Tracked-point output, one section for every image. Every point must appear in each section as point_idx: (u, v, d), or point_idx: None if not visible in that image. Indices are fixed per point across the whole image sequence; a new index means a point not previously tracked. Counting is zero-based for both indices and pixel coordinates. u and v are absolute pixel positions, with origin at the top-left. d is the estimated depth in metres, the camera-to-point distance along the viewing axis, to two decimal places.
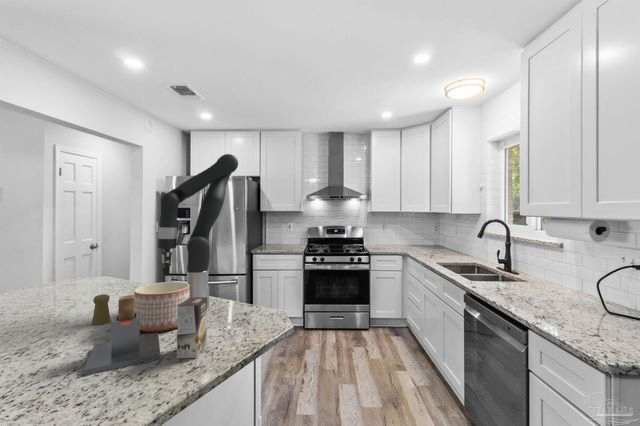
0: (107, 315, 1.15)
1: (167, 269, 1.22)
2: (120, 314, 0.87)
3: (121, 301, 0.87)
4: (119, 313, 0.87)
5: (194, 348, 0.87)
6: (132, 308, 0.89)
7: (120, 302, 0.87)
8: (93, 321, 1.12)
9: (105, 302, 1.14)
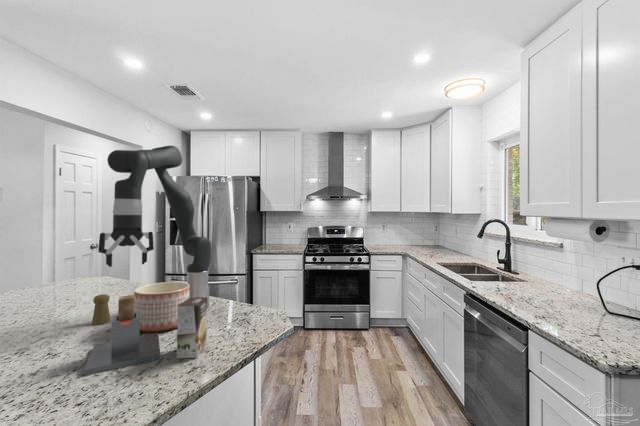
0: (107, 315, 1.15)
1: (146, 255, 0.93)
2: (120, 314, 0.87)
3: (121, 301, 0.87)
4: (119, 313, 0.87)
5: (194, 348, 0.87)
6: (132, 308, 0.89)
7: (120, 302, 0.87)
8: (93, 321, 1.12)
9: (105, 302, 1.14)
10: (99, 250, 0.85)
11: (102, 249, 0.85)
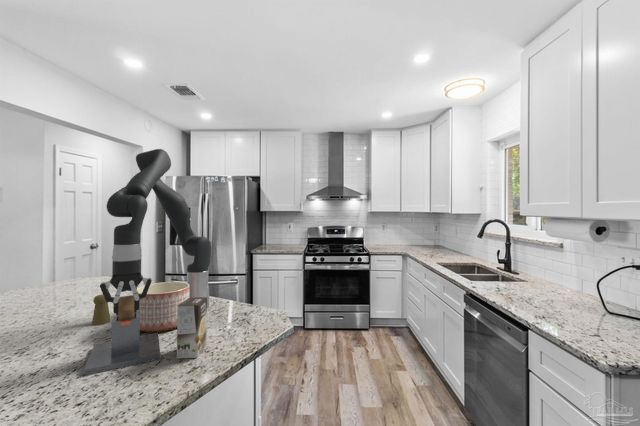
0: (107, 315, 1.15)
1: (138, 302, 0.91)
2: (120, 314, 0.87)
3: (121, 302, 0.87)
4: (119, 313, 0.87)
5: (194, 348, 0.87)
6: (132, 308, 0.89)
7: (120, 302, 0.87)
8: (93, 321, 1.12)
9: (105, 302, 1.14)
10: (107, 299, 0.86)
11: (109, 298, 0.86)
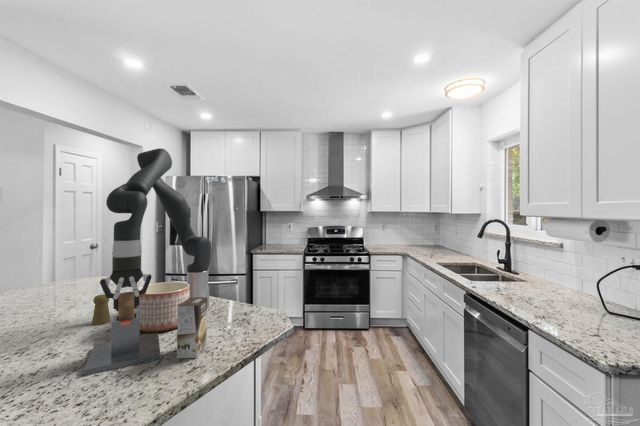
0: (107, 315, 1.15)
1: (138, 298, 0.91)
2: (120, 310, 0.87)
3: (121, 298, 0.87)
4: (119, 309, 0.87)
5: (194, 348, 0.87)
6: (132, 304, 0.89)
7: (120, 298, 0.87)
8: (93, 321, 1.12)
9: (105, 302, 1.14)
10: (107, 295, 0.86)
11: (110, 294, 0.86)
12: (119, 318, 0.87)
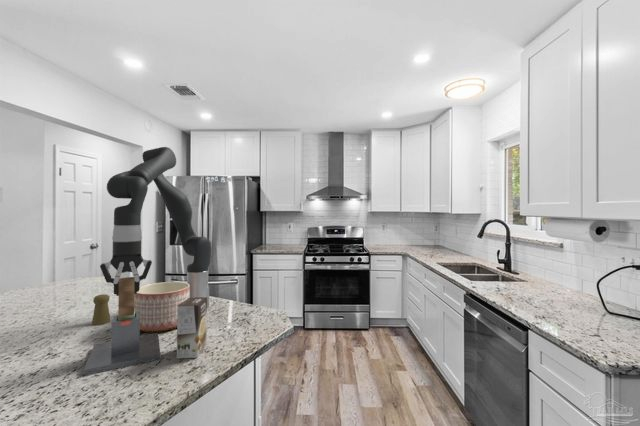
0: (107, 315, 1.15)
1: None
2: (120, 295, 0.87)
3: (122, 282, 0.87)
4: (119, 294, 0.87)
5: (194, 348, 0.87)
6: (132, 289, 0.89)
7: (120, 283, 0.87)
8: (93, 321, 1.12)
9: (105, 302, 1.14)
10: (107, 280, 0.86)
11: (110, 279, 0.86)
12: (119, 303, 0.87)
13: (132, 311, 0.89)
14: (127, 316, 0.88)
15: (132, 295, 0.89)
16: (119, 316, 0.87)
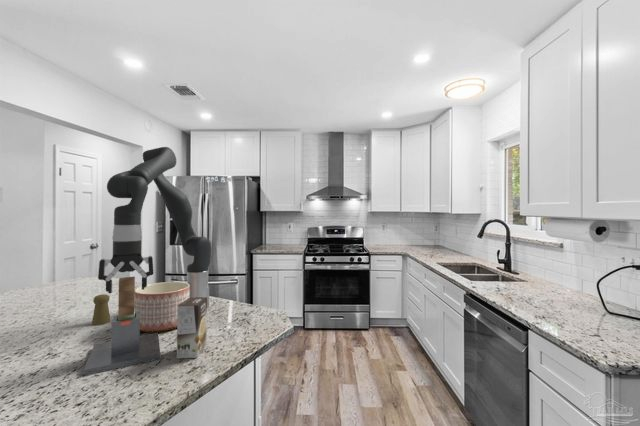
0: (107, 315, 1.15)
1: None
2: (120, 295, 0.87)
3: (122, 282, 0.87)
4: (119, 293, 0.87)
5: (194, 348, 0.87)
6: (132, 289, 0.89)
7: (120, 283, 0.87)
8: (93, 321, 1.12)
9: (105, 302, 1.14)
10: (99, 277, 0.85)
11: (102, 276, 0.85)
12: (119, 302, 0.87)
13: (132, 311, 0.89)
14: (127, 316, 0.88)
15: (132, 295, 0.89)
16: (119, 316, 0.87)
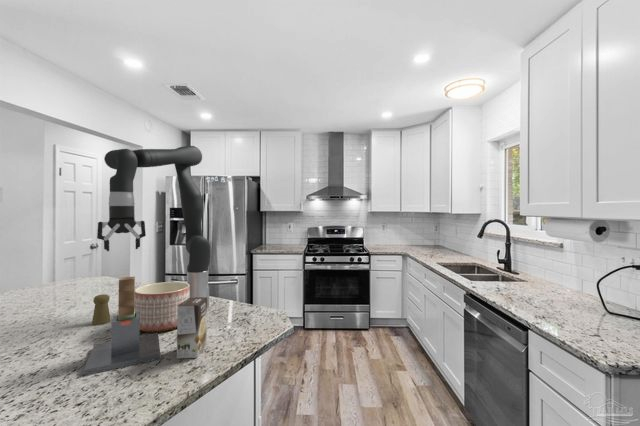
0: (107, 315, 1.15)
1: (139, 241, 1.06)
2: (120, 295, 0.87)
3: (122, 282, 0.87)
4: (119, 293, 0.87)
5: (194, 348, 0.87)
6: (132, 289, 0.89)
7: (120, 283, 0.87)
8: (93, 321, 1.12)
9: (105, 302, 1.14)
10: (98, 237, 0.98)
11: (100, 236, 0.98)
12: (119, 302, 0.87)
13: (132, 311, 0.89)
14: (127, 316, 0.88)
15: (132, 295, 0.89)
16: (119, 316, 0.87)
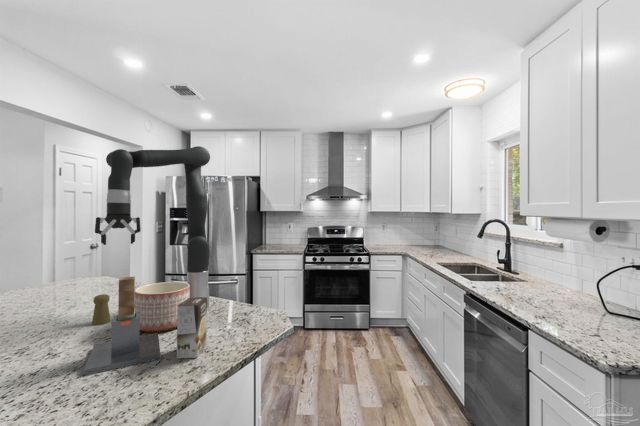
0: (107, 315, 1.15)
1: (134, 236, 1.13)
2: (120, 295, 0.87)
3: (122, 282, 0.87)
4: (119, 293, 0.87)
5: (194, 348, 0.87)
6: (132, 289, 0.89)
7: (120, 283, 0.87)
8: (93, 321, 1.12)
9: (105, 302, 1.14)
10: (95, 231, 1.05)
11: (98, 230, 1.06)
12: (119, 302, 0.87)
13: (132, 311, 0.89)
14: (127, 316, 0.88)
15: (132, 295, 0.89)
16: (119, 316, 0.87)
